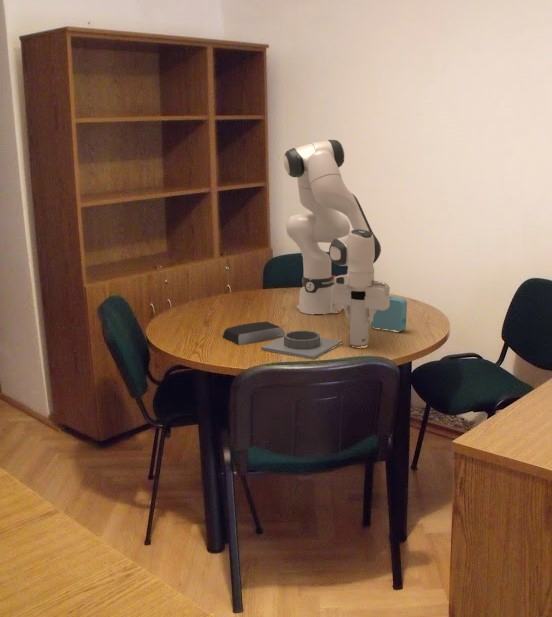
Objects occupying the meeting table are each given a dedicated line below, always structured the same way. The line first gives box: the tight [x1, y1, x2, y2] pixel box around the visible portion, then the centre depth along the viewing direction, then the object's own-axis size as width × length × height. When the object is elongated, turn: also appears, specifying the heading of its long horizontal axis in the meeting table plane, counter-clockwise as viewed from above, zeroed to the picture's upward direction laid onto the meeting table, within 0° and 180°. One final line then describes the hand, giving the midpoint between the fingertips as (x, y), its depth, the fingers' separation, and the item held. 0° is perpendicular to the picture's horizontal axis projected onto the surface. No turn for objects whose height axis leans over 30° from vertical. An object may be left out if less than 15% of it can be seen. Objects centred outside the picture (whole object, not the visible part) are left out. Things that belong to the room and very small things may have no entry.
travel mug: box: [349, 291, 370, 347], centre depth 241 cm, size 6×7×20 cm
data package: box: [370, 295, 408, 332], centre depth 262 cm, size 12×4×12 cm, turn 56°
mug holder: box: [260, 330, 343, 360], centre depth 242 cm, size 20×20×4 cm
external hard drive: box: [222, 321, 286, 346], centre depth 255 cm, size 13×19×4 cm
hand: (359, 319), depth 241 cm, fingers closed on travel mug, 6 cm apart
